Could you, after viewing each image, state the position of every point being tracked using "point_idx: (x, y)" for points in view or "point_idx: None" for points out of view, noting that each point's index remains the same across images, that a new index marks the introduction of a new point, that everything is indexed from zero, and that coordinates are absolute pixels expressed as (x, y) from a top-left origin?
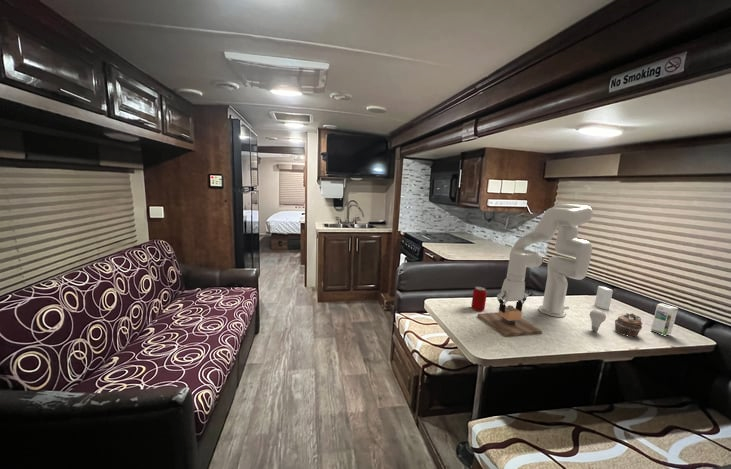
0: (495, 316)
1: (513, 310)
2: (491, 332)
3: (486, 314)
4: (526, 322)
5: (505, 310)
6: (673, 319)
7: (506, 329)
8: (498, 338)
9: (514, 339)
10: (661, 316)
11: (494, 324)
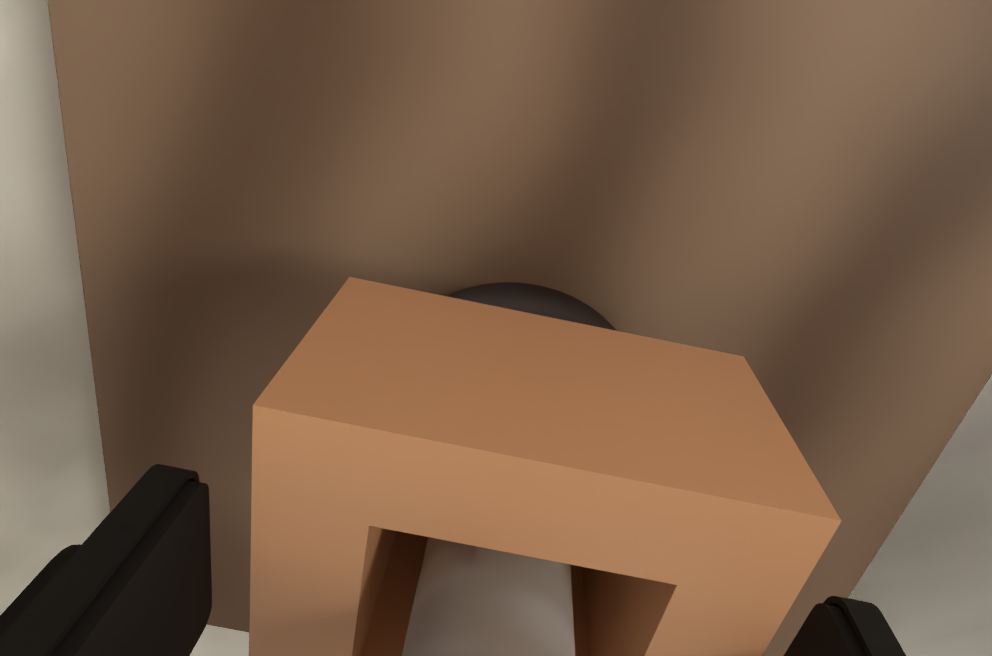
0: (438, 118)
1: (627, 627)
2: (9, 434)
3: None
4: (843, 534)
5: (252, 633)
6: None
7: (224, 546)
8: (21, 556)
9: (228, 632)
10: None
11: (124, 377)
